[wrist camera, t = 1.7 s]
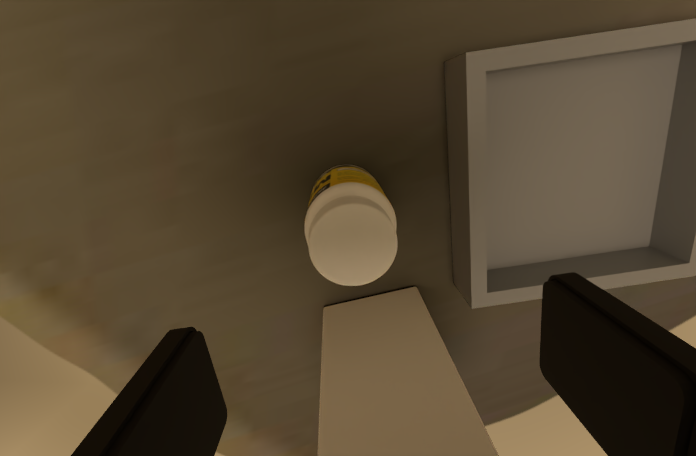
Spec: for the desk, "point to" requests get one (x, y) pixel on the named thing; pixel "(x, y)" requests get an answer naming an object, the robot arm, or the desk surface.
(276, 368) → the desk surface
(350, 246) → the supplement bottle
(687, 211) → the tray
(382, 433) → the milk carton
